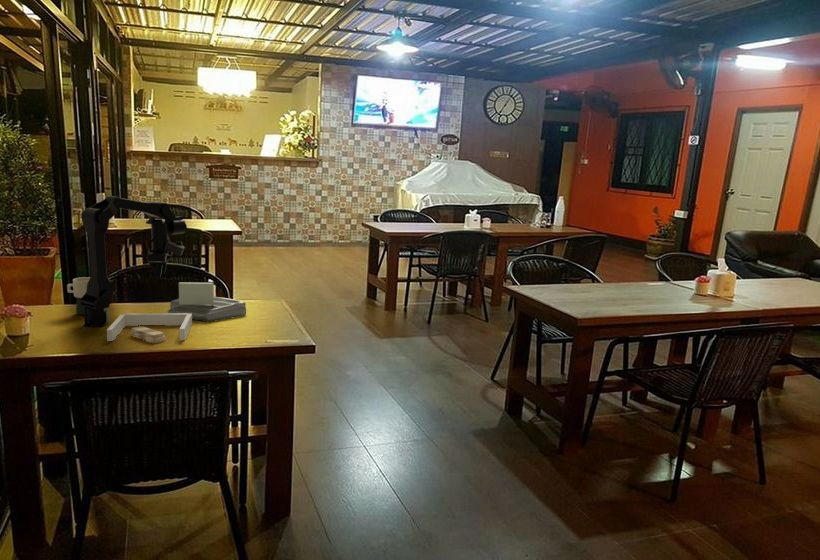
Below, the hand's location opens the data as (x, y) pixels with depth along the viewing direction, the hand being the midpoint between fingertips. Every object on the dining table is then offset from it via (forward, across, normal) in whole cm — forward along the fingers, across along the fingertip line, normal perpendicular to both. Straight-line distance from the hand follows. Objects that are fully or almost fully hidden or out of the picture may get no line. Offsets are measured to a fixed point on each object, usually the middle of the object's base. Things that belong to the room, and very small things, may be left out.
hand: (161, 276), depth 223 cm
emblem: (+14, -5, -17) cm, 23 cm away
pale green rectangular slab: (+9, -9, -14) cm, 18 cm away
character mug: (+13, -6, +25) cm, 29 cm away
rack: (+13, -31, -2) cm, 33 cm away
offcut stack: (+13, -37, -2) cm, 40 cm away
